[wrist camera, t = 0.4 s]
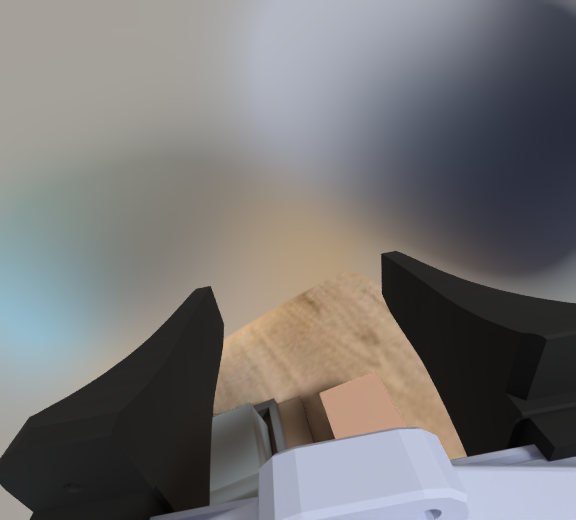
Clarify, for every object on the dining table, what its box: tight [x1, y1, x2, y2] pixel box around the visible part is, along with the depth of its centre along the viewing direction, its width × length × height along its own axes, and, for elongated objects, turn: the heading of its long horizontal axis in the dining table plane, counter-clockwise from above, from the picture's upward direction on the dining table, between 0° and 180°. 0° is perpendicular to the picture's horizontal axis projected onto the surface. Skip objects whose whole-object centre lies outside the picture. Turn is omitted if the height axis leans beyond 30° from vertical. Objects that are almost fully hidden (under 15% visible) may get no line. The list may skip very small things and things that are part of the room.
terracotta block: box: [319, 371, 407, 439], centre depth 24 cm, size 5×5×5 cm
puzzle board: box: [210, 396, 314, 506], centre depth 21 cm, size 16×12×6 cm
